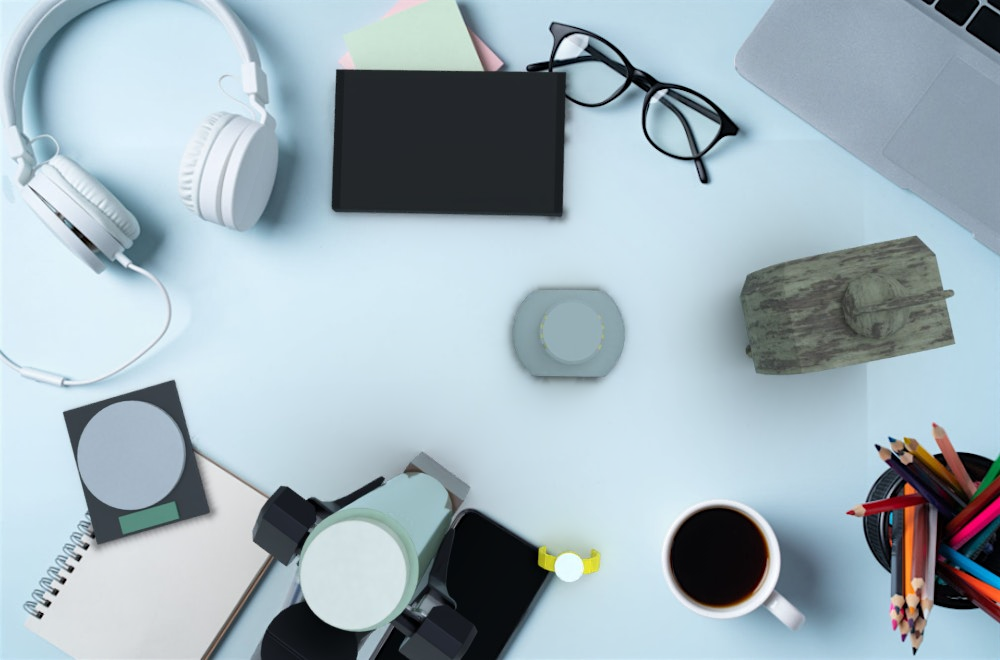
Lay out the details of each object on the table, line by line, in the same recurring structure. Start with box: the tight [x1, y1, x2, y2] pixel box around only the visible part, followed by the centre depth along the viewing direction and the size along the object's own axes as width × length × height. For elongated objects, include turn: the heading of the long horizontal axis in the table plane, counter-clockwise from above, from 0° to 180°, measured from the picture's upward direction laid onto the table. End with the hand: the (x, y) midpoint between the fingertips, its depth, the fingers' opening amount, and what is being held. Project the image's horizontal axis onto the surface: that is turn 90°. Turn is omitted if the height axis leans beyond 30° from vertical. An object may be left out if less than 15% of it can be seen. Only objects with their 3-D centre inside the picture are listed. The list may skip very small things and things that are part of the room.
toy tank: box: [739, 235, 956, 376], centre depth 66 cm, size 14×9×25 cm, turn 101°
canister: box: [297, 472, 453, 632], centre depth 57 cm, size 7×7×26 cm
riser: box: [401, 451, 471, 518], centre depth 75 cm, size 6×6×9 cm
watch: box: [537, 545, 601, 583], centre depth 76 cm, size 6×3×6 cm, turn 87°
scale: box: [62, 379, 211, 545], centre depth 80 cm, size 14×12×2 cm
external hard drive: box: [331, 68, 567, 217], centre depth 79 cm, size 14×23×3 cm, turn 88°
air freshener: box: [512, 289, 626, 378], centre depth 75 cm, size 11×8×10 cm
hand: (417, 504), depth 67 cm, fingers closed on canister, 7 cm apart
